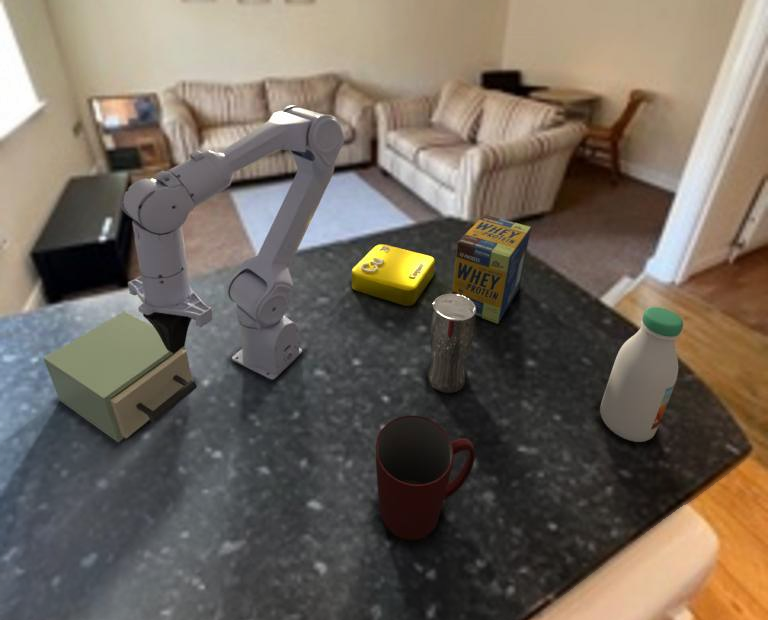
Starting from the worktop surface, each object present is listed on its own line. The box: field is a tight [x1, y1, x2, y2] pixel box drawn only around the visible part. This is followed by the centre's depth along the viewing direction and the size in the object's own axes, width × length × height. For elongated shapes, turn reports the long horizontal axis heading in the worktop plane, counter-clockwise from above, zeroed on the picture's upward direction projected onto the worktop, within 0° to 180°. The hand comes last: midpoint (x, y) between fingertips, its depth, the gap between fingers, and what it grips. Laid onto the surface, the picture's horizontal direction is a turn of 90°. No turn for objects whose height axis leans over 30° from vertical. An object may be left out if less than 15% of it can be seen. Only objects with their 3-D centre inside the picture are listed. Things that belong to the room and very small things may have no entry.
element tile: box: [351, 243, 436, 307], centre depth 100 cm, size 15×15×5 cm
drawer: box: [110, 349, 198, 439], centre depth 67 cm, size 18×11×7 cm, turn 61°
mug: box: [375, 415, 476, 541], centre depth 54 cm, size 12×9×11 cm
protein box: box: [451, 214, 532, 325], centre depth 93 cm, size 10×15×16 cm
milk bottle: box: [599, 306, 684, 443], centre depth 64 cm, size 8×8×20 cm
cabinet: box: [42, 311, 186, 443], centre depth 69 cm, size 15×13×9 cm
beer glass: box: [427, 293, 477, 394], centre depth 72 cm, size 7×7×15 cm
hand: (176, 347), depth 65 cm, fingers closed
